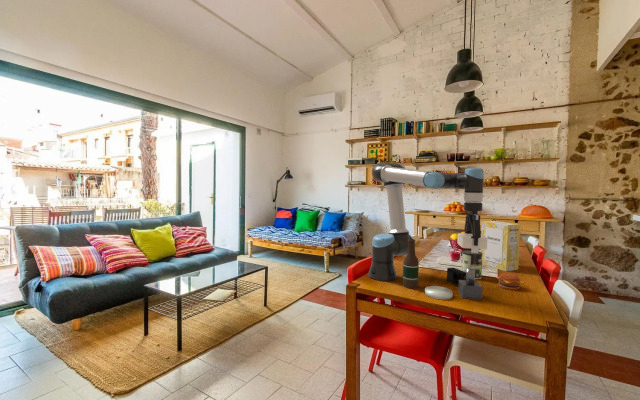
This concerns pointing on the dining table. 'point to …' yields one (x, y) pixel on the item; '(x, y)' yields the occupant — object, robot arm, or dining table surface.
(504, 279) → the hamburger
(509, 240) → the pasta box
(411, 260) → the beer bottle
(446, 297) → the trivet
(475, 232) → the robot arm
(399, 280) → the dining table surface
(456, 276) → the digital camera
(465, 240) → the white square open box
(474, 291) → the post stand
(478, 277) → the coffee can
